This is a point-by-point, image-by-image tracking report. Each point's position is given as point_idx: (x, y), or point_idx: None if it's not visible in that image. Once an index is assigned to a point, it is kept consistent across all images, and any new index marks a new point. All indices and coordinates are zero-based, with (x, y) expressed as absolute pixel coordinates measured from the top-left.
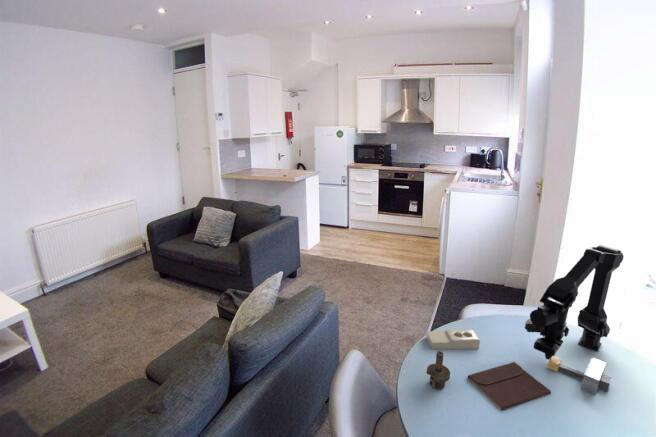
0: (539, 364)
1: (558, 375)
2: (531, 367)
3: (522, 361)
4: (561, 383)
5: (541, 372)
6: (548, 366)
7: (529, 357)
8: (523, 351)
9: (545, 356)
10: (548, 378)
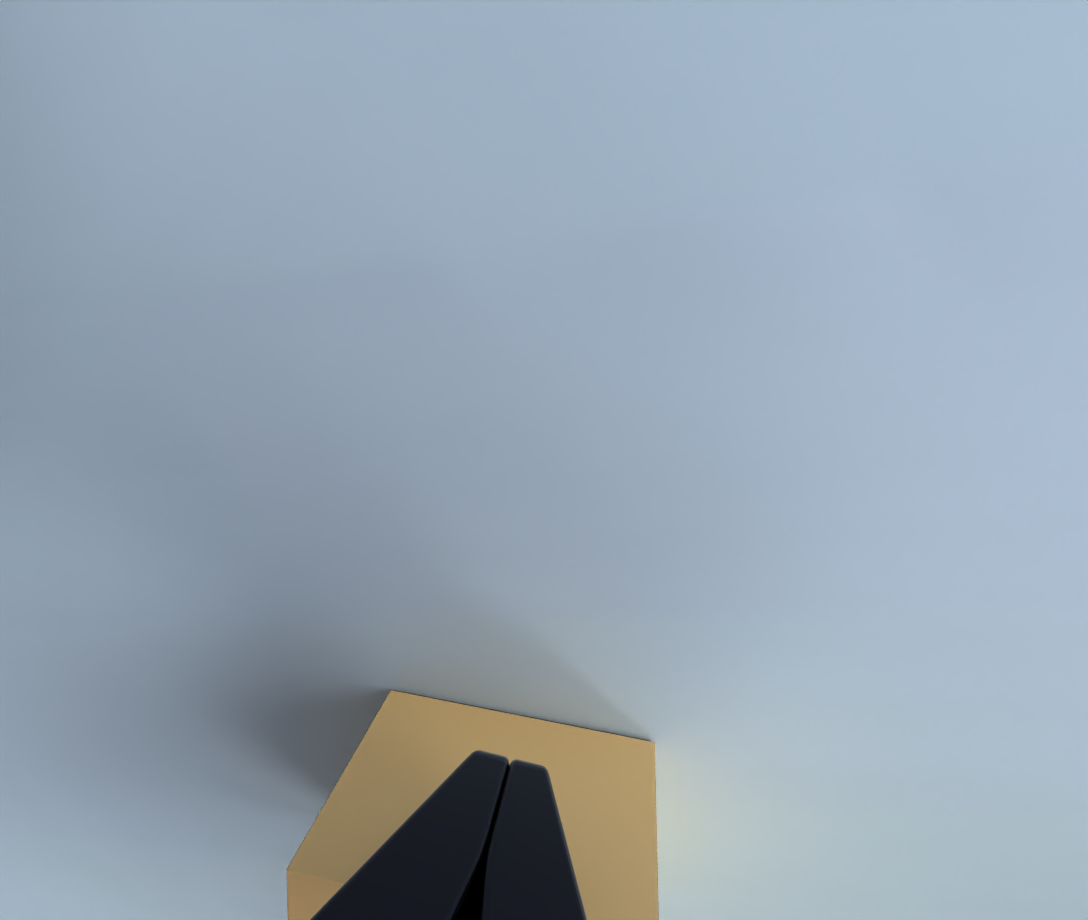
0: (412, 538)
1: (287, 843)
2: (163, 385)
3: (247, 132)
4: (103, 864)
5: (148, 586)
6: (371, 731)
7: (577, 282)
8: (837, 42)
9: (431, 799)
10: (68, 698)
